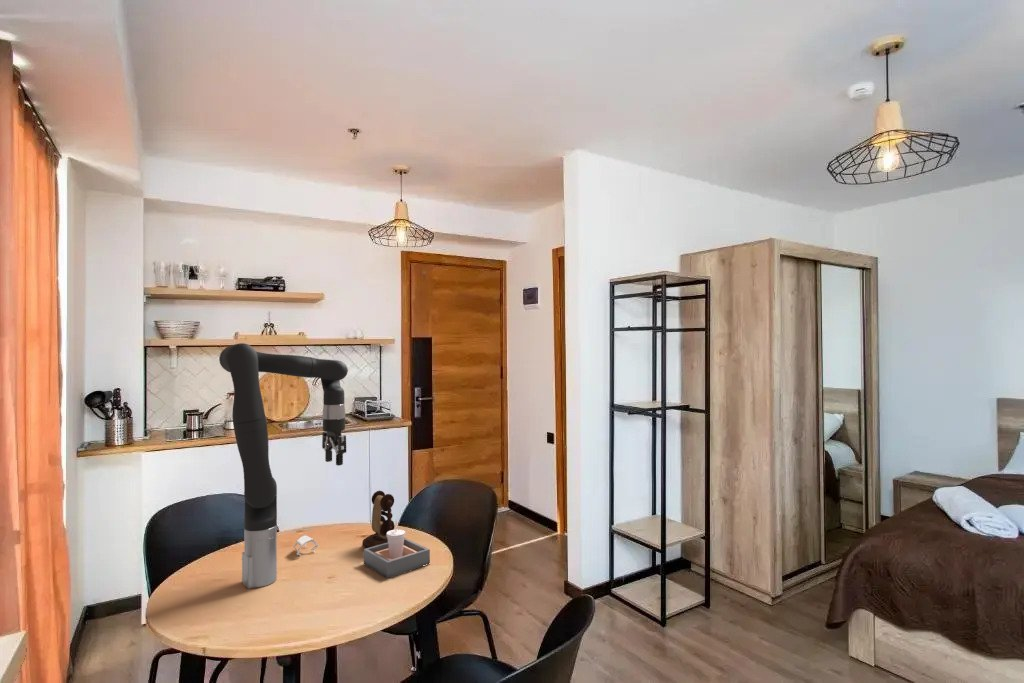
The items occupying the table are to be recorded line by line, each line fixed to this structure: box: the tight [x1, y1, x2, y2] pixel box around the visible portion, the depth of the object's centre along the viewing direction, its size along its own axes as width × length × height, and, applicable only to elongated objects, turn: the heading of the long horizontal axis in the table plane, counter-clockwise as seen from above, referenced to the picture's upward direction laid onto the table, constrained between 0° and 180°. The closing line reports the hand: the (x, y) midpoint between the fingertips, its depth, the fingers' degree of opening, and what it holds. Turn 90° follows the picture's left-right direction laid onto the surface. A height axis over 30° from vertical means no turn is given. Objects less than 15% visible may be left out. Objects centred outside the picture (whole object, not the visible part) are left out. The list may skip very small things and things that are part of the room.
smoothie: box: [386, 518, 406, 560], centre depth 179 cm, size 6×6×14 cm
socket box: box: [363, 537, 431, 579], centre depth 179 cm, size 16×16×5 cm
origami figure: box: [293, 534, 320, 559], centre depth 191 cm, size 12×8×5 cm
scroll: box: [361, 490, 395, 549], centre depth 195 cm, size 15×15×20 cm
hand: (334, 463), depth 185 cm, fingers open, 8 cm apart
